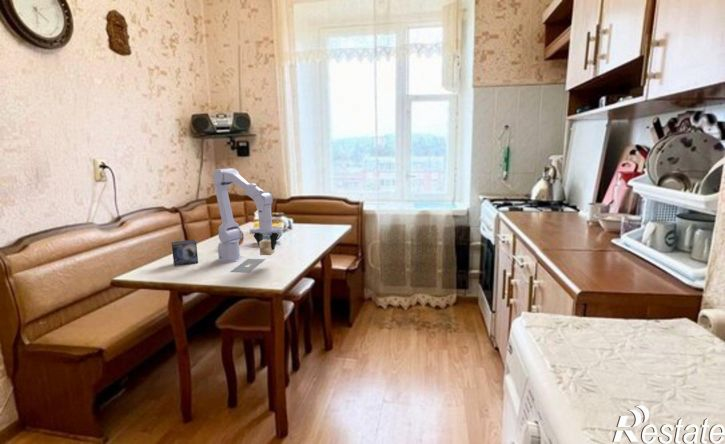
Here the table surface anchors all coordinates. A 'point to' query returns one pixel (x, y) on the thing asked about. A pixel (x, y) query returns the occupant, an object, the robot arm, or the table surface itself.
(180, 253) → the small box
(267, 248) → the maple block
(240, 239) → the tin
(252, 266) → the grey plate
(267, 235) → the chinaware
